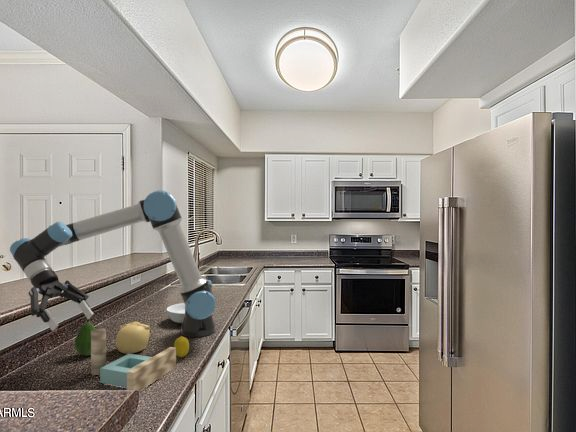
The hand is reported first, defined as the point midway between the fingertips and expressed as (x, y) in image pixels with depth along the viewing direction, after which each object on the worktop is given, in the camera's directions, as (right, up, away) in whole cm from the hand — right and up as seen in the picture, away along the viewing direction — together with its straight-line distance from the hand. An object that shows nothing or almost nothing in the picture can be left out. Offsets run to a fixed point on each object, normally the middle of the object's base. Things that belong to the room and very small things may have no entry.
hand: (74, 322), depth 121 cm
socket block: (+22, -16, -7) cm, 28 cm away
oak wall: (+30, -16, -9) cm, 35 cm away
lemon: (+34, -16, +9) cm, 39 cm away
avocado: (-2, -16, +11) cm, 20 cm away
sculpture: (+13, -16, +16) cm, 26 cm away
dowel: (+10, -16, -3) cm, 19 cm away
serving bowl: (+24, -16, +53) cm, 61 cm away
